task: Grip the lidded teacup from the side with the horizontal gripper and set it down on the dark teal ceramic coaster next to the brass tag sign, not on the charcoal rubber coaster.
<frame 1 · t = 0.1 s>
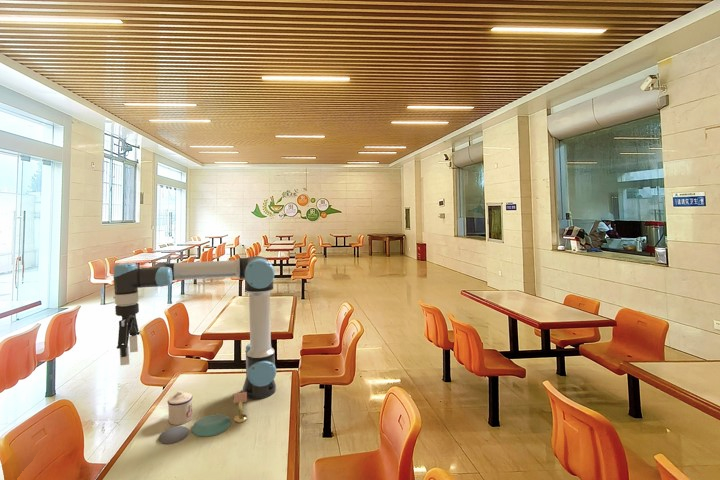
hand: (129, 358, 141), 28 cm above the table, tool pointing down, fingers open, 13 cm apart
teacup with lid: (181, 417, 150), on the table
teal coaster: (211, 426, 143), on the table
charcoal coaster: (174, 435, 137), on the table
brass tag sign: (240, 419, 148), on the table
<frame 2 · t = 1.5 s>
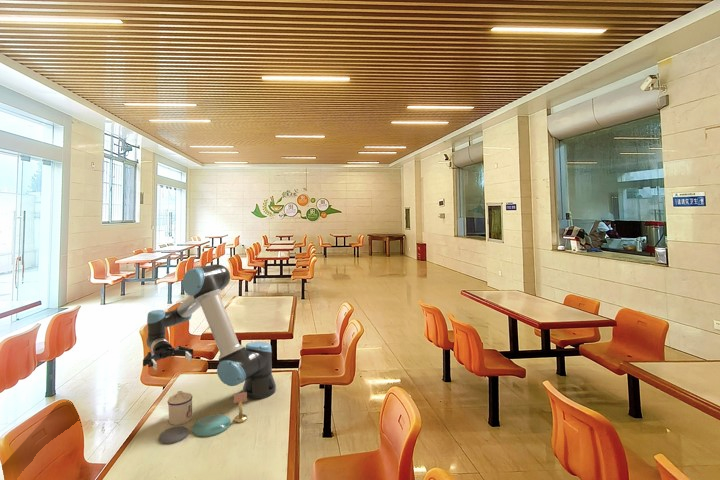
hand: (173, 362, 155), 20 cm above the table, tool horizontal, fingers open, 13 cm apart
nothing on the table moved.
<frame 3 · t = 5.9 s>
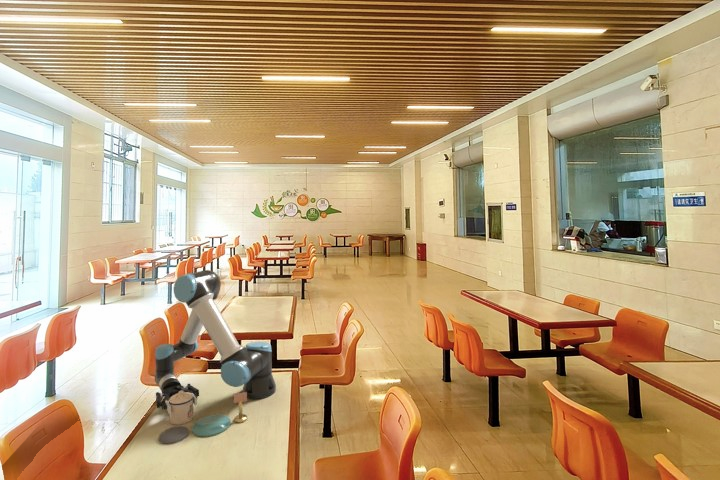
hand: (183, 406, 146), 7 cm above the table, tool horizontal, fingers closed on teacup with lid, 9 cm apart
teacup with lid: (182, 417, 150), on the table, touching gripper
when the fingers open (9 cm above the table, at t = 11.9 s): teacup with lid drops 1 cm, resting on teal coaster.
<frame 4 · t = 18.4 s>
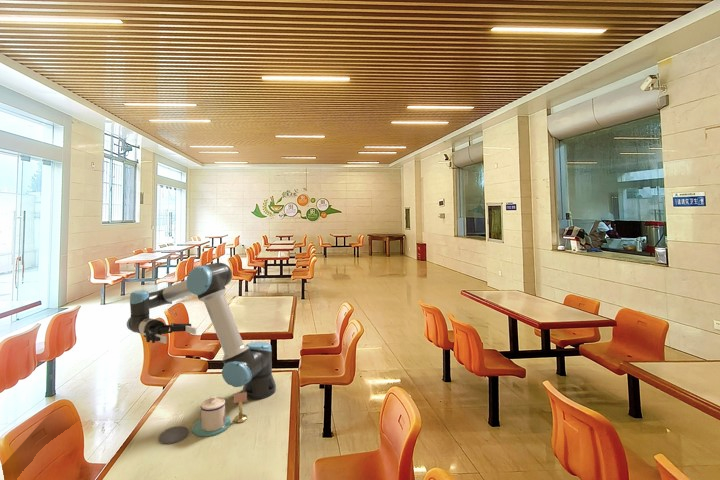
hand: (181, 335, 154), 32 cm above the table, tool horizontal, fingers open, 13 cm apart
teacup with lid: (212, 424, 144), point 1 cm above the table, touching teal coaster
at the end: teacup with lid 0.4 cm from the teal coaster (horizontally); teacup with lid tilted 0°; teacup with lid point 0.6 cm above the table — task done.
